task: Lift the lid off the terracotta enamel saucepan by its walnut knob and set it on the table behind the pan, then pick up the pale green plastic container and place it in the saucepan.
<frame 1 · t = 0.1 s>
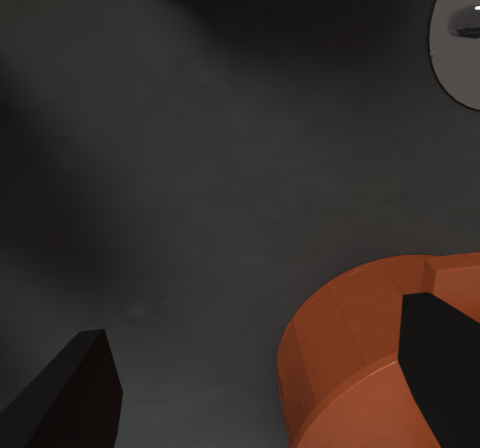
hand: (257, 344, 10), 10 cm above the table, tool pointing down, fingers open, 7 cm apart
pan: (392, 356, 24), on the table
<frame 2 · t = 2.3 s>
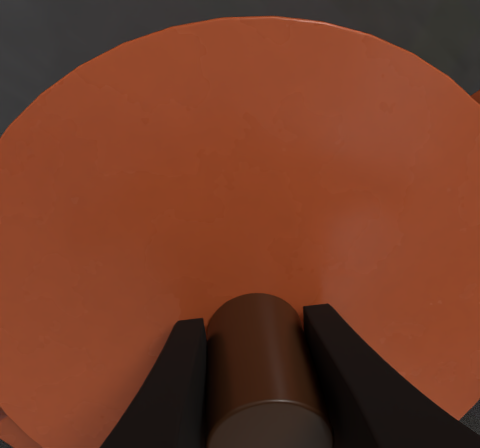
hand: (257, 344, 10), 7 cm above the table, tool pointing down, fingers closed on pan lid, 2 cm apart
pan: (239, 219, 17), on the table
pan lid: (252, 319, 11), point 6 cm above the table, touching gripper, pan
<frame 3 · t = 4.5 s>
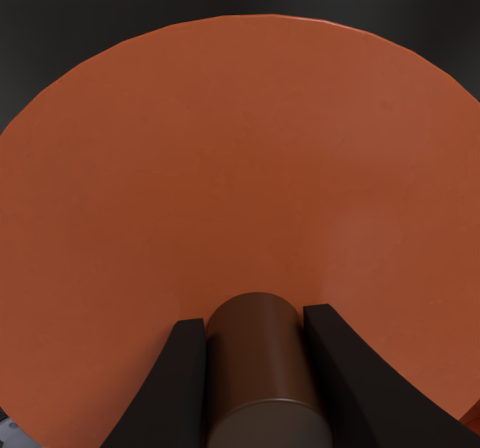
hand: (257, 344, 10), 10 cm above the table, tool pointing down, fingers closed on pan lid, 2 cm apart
pan: (422, 361, 25), on the table
pan lid: (253, 318, 11), point 9 cm above the table, touching gripper
when the fingers open (2 cm above the table, at t = 6.9 s): pan lid stays where it is, point 1 cm above the table.
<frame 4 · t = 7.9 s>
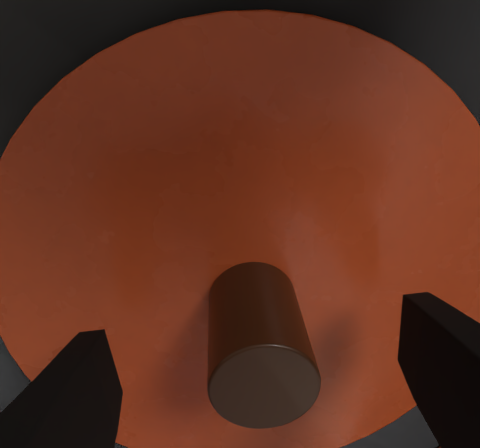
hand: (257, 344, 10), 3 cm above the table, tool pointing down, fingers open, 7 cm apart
pan lid: (250, 287, 12), point 1 cm above the table
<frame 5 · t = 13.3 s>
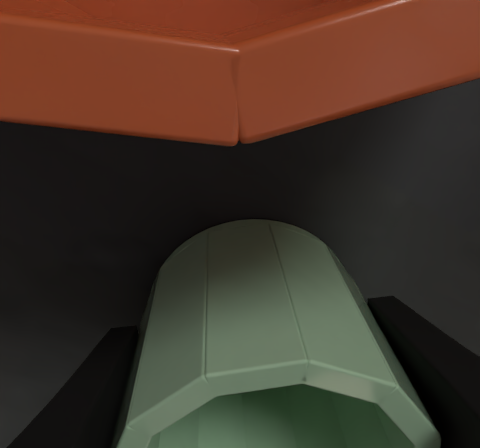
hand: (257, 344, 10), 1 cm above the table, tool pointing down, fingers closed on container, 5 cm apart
container: (251, 309, 11), on the table, touching gripper
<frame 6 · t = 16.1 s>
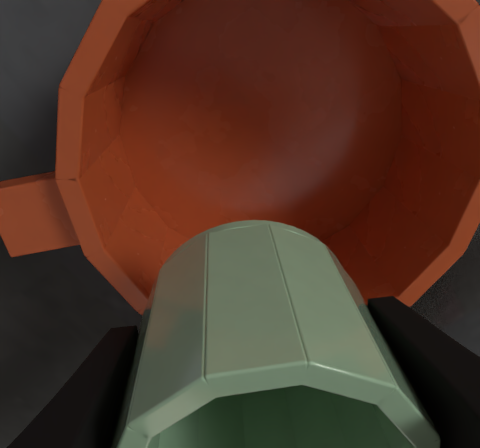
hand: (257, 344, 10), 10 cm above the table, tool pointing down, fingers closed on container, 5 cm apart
pan: (262, 132, 18), on the table
container: (250, 310, 11), point 9 cm above the table, touching gripper
when the fingers open (2 cm above the table, at t = 19.2 s): container stays where it is, resting on pan.
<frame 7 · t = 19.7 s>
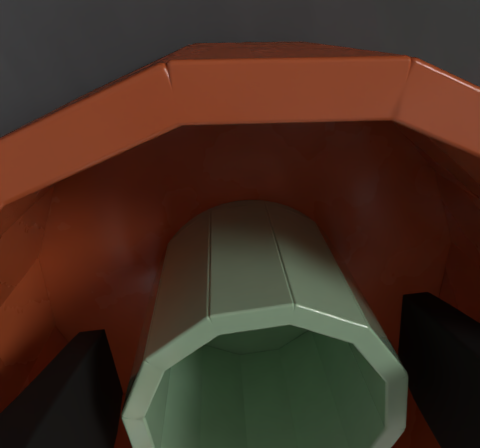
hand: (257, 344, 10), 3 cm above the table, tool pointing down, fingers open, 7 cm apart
pan: (248, 276, 13), on the table
container: (249, 283, 13), resting on pan
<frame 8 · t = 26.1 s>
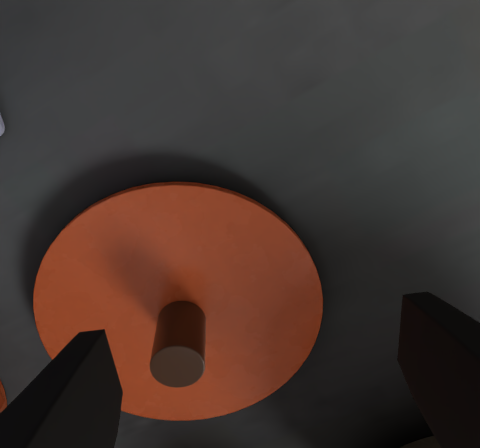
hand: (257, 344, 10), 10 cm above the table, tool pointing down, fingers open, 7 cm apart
brown coconut: (418, 445, 28), on the table
pan lid: (182, 313, 22), point 1 cm above the table
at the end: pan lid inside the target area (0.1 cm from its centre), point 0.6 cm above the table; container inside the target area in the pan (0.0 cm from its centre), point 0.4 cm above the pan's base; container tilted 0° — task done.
